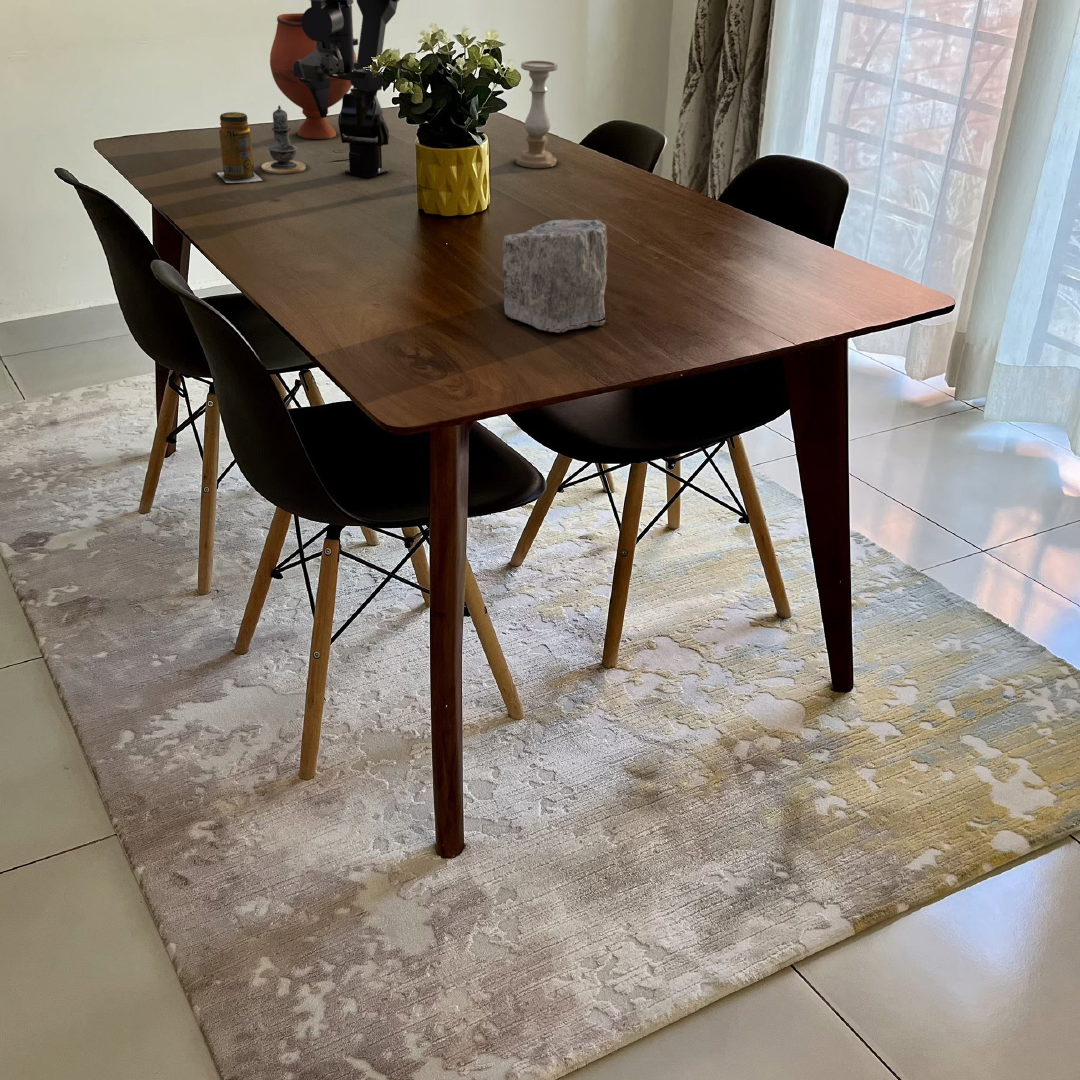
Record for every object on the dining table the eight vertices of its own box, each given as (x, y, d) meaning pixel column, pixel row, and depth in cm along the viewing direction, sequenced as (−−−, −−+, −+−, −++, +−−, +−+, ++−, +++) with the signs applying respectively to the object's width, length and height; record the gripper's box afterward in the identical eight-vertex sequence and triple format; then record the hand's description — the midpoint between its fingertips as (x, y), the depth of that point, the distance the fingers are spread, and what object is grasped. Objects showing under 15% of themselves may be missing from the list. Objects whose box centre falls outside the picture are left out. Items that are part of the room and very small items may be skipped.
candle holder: (531, 156, 261) (534, 58, 250) (564, 163, 257) (568, 63, 246) (507, 163, 255) (509, 63, 244) (540, 171, 251) (544, 69, 240)
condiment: (252, 170, 243) (246, 109, 237) (262, 181, 236) (257, 118, 230) (216, 173, 240) (209, 112, 234) (226, 184, 234) (219, 121, 227)
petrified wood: (539, 283, 191) (543, 189, 183) (636, 305, 184) (644, 209, 176) (476, 318, 177) (476, 218, 169) (577, 343, 170) (583, 240, 162)
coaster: (283, 160, 251) (282, 157, 251) (314, 167, 247) (314, 165, 246) (252, 168, 244) (251, 166, 244) (284, 176, 240) (284, 173, 240)
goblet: (353, 146, 263) (348, 25, 250) (266, 143, 263) (256, 21, 250) (365, 127, 279) (361, 12, 266) (283, 124, 279) (275, 8, 266)
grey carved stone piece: (271, 161, 247) (266, 101, 241) (299, 162, 248) (295, 102, 242) (267, 169, 242) (262, 108, 236) (297, 169, 243) (292, 108, 237)
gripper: (269, 32, 217) (276, 120, 225) (346, 44, 208) (350, 136, 216) (311, 25, 225) (316, 111, 233) (387, 37, 216) (390, 126, 224)
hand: (341, 121), depth 227 cm, fingers open, 9 cm apart
